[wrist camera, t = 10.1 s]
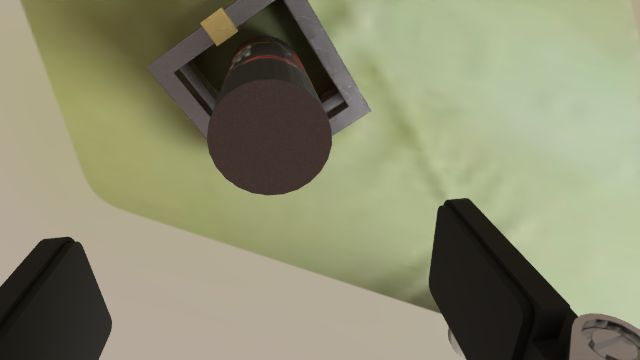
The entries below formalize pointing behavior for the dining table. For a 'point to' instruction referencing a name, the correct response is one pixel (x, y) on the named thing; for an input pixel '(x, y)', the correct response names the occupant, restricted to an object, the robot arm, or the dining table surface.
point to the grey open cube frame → (177, 62)
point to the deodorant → (268, 121)
